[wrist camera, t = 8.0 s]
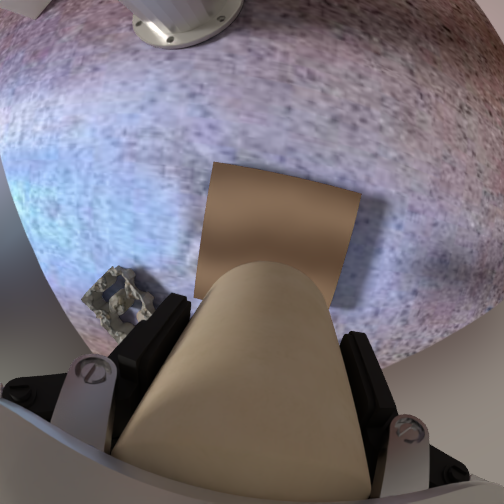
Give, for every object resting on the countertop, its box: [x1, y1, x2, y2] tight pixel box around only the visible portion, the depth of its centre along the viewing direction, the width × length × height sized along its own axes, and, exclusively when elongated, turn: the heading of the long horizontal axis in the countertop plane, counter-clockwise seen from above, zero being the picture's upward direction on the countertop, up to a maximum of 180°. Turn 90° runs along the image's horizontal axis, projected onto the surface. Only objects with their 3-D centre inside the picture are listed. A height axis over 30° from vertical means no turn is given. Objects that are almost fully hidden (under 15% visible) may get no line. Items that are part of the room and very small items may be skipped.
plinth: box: [194, 162, 362, 310], centre depth 24 cm, size 12×12×4 cm
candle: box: [110, 261, 371, 502], centre depth 7 cm, size 6×6×10 cm
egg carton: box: [81, 266, 156, 345], centre depth 29 cm, size 11×8×4 cm
